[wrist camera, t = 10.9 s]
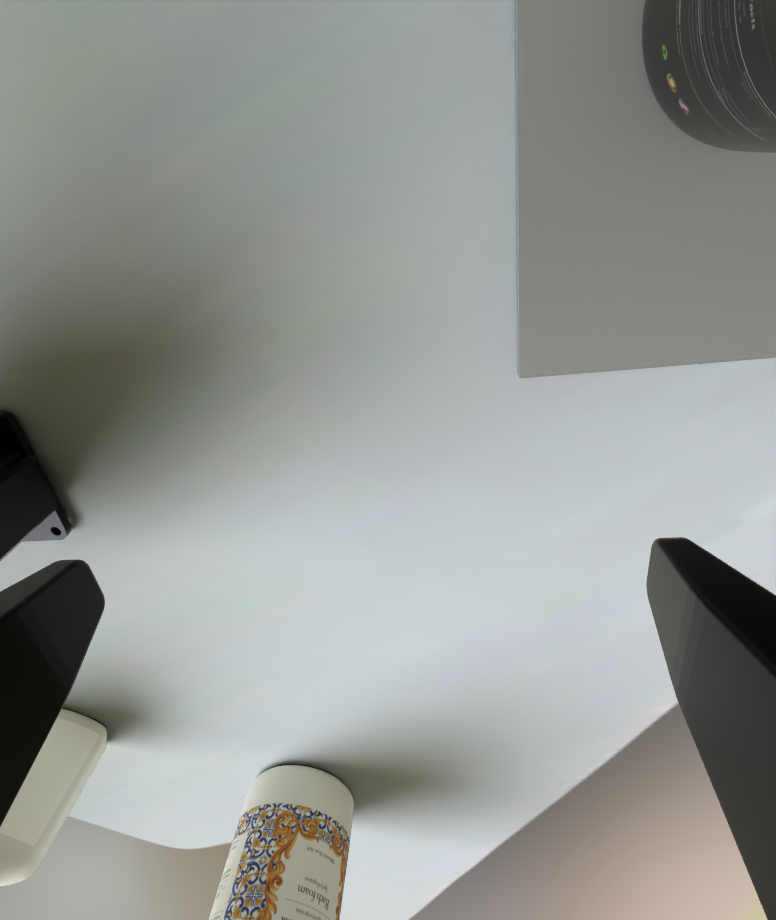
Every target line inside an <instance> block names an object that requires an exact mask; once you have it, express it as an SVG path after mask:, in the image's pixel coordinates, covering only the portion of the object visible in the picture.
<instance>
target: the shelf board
mask: <svg viewBox="0 0 776 920" xmlns="http://www.w3.org/2000/svg"><path fill="white" fill-rule="evenodd" d="M644 4H645V0H515V79H516V205H517V330H518V374H519V378H529V377H541V376H554V375H566V374H578V373H591V372H603V371H616V370H628V369H640V368H653V367H665V366H677V365H690V364H702V363H714V362H727V361H739V360H751V359H764V358H776V153H763V152H744V151H732V150H726V149H721V148H716V147H713V146H710V145H707V144H704V143H702V142H700V141H697V140H695V139H693V138H692V137H690V136H689V135H687V134H686V133H684V132H683V131H682V130H680V129H679V128H678V127H677V126H676V125H675V124H674V123H673V122H672V121H671V120H670V119H669V118H668V117H667V115H666V114H665V113H664V111H663V110H662V108H661V107H660V105H659V103H658V102H657V100H656V98H655V96H654V94H653V91H652V89H651V86H650V84H649V81H648V77H647V74H646V70H645V64H644V59H643V49H642V20H643V10H644Z"/></svg>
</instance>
